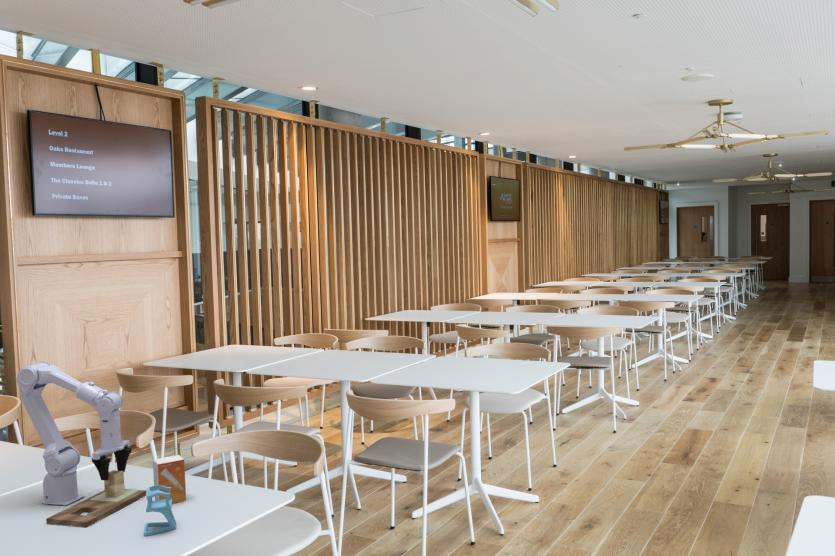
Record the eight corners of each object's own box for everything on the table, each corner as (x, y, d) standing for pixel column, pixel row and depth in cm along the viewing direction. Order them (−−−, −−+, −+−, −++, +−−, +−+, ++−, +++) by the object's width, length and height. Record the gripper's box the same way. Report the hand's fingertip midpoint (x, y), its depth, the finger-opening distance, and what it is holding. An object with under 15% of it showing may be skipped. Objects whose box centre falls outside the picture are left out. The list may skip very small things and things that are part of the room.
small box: (159, 506, 216) (157, 464, 215) (154, 501, 221) (152, 459, 220) (187, 500, 220) (184, 458, 220) (181, 495, 225) (178, 454, 225)
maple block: (105, 496, 221) (103, 474, 221) (114, 492, 225) (112, 470, 225) (115, 497, 220) (114, 475, 220) (124, 493, 224) (123, 471, 224)
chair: (175, 532, 196) (173, 488, 195) (143, 536, 193) (141, 492, 193) (176, 522, 203) (175, 480, 203) (145, 526, 201) (143, 483, 200)
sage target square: (89, 500, 219) (89, 499, 219) (112, 489, 229) (112, 488, 229) (117, 502, 217) (117, 501, 217) (138, 491, 226) (138, 490, 226)
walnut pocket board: (46, 523, 206) (46, 518, 206) (109, 492, 231) (109, 488, 231) (86, 527, 202) (86, 522, 202) (146, 495, 227) (146, 490, 227)
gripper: (105, 439, 214) (107, 484, 214) (137, 427, 228) (139, 469, 228) (85, 438, 216) (88, 482, 216) (118, 426, 230) (120, 468, 230)
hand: (113, 475), depth 222 cm, fingers open, 7 cm apart
